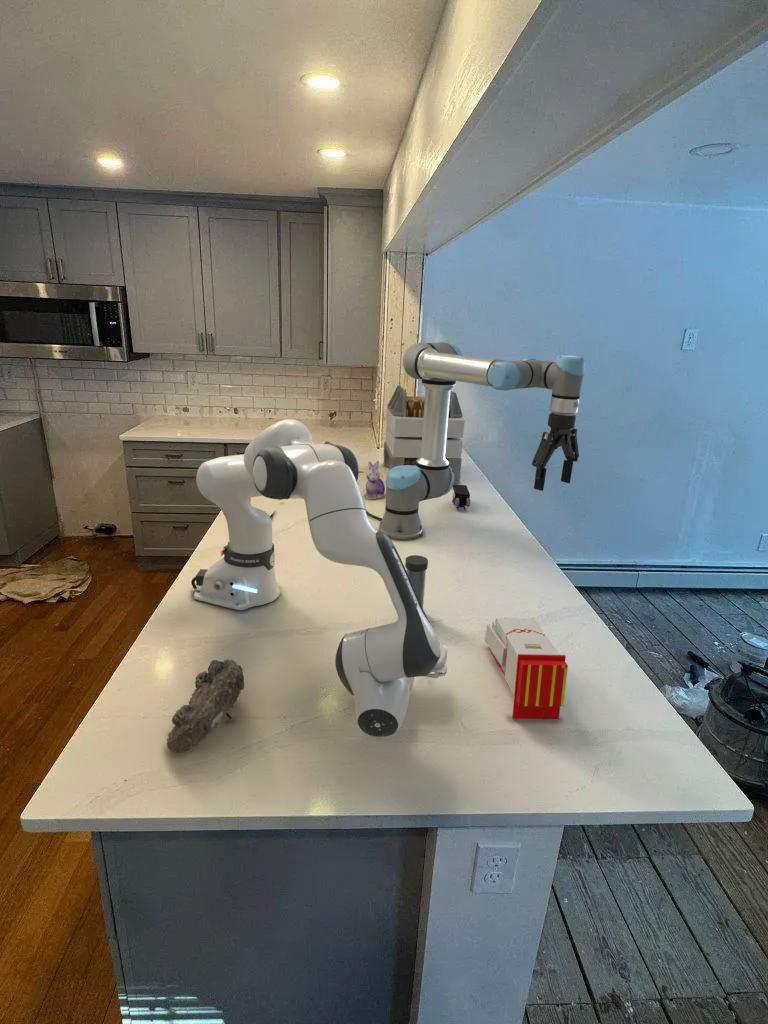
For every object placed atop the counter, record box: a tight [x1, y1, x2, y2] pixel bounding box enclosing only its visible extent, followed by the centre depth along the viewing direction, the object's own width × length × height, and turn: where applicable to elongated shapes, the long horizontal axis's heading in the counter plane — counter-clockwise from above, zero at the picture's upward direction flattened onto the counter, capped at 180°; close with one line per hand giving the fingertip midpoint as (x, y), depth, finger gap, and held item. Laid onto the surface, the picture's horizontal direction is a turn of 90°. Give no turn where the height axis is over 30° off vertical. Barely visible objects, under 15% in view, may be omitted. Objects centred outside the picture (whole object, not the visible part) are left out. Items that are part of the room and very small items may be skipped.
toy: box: [484, 617, 569, 720], centre depth 122 cm, size 12×13×30 cm
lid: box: [404, 554, 429, 572], centre depth 143 cm, size 6×6×2 cm
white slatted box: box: [383, 384, 465, 484], centre depth 268 cm, size 34×33×41 cm
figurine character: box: [451, 483, 471, 512], centre depth 229 cm, size 7×8×15 cm
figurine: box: [364, 460, 386, 500], centre depth 235 cm, size 9×10×15 cm
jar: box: [405, 567, 427, 609], centre depth 145 cm, size 5×5×15 cm
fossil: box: [166, 658, 245, 754], centre depth 106 cm, size 22×10×15 cm
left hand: (402, 633), depth 124 cm, fingers open, 8 cm apart
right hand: (552, 485), depth 166 cm, fingers open, 13 cm apart
